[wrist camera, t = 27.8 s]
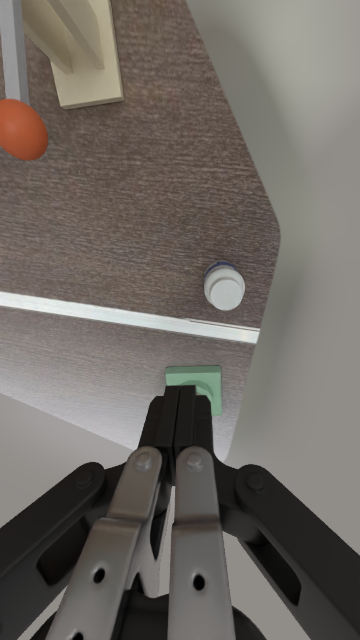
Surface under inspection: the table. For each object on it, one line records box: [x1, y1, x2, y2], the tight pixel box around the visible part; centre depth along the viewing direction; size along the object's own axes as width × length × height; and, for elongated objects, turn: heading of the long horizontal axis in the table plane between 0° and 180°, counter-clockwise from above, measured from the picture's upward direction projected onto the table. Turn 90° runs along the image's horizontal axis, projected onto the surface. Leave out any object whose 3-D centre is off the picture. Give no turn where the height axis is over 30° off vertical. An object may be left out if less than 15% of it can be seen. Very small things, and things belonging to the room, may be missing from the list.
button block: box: [165, 366, 222, 416], centre depth 46 cm, size 10×10×4 cm
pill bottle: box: [204, 260, 245, 310], centre depth 34 cm, size 5×5×10 cm
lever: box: [0, 0, 48, 160], centre depth 18 cm, size 16×4×4 cm, turn 5°
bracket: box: [21, 0, 124, 110], centre depth 23 cm, size 10×8×15 cm
